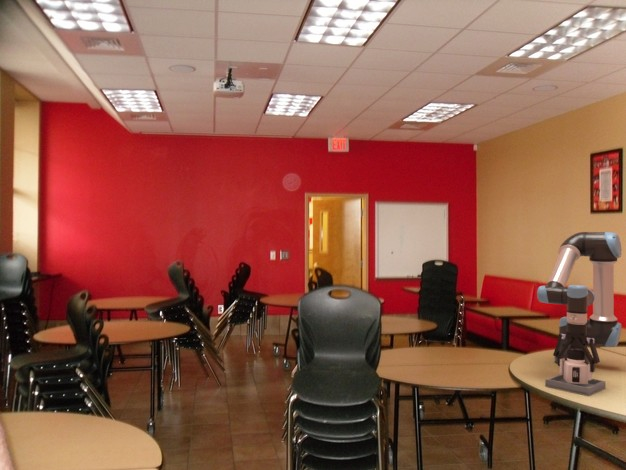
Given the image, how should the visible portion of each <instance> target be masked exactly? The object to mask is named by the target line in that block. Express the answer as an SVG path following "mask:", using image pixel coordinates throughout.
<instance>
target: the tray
mask: <svg viewBox="0 0 626 470" xmlns="http://www.w3.org/2000/svg"><path fill="white" fill-rule="evenodd" d="M544 385H545V387H547V388H549V389H550V388H551V389H553V390H554V389H555V390H559V391H563V390H564V391H565V392H569V393H573V394H577V395H583V396H587V397H590V396H591V395H595V394H596V393H598V392H602V391H603V390H605V389H606V381H605V380H600V379H596V378H592V380H590V381H589V380H588V385H586V384H572V383H567V382H566V381H565V380H564V379H563V375H560V373H559V374H557V375H554V376H552V377H548V378H545V384H544Z"/></svg>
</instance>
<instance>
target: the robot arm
mask: <svg viewBox="0 0 626 470" xmlns="http://www.w3.org/2000/svg"><path fill="white" fill-rule="evenodd" d="M580 257H588V258H589V259H588V260H589V263H591V264H592V290H591V289H590V288H588V287H587V286H586V285H582V284H581V285H580V284H569V285H567V284H568V282H569V278H570V276H571V274H572V272H573V269H574V266H575V263H576V261H578V260H579V259H580ZM621 257H622V243H621V240H620V237H619V235H618V234H617V233H615V232H609V231H581V232H577V233H574V234H573V235H570V236H568V237H567V238H566V239H565V240H564V241H563V242H562V243H561V244H560V246H559V248H558V257H557V259H556V262H555V265H554V266H553V269H552V272H551V273H550V275H549V279H548V281H547V283H546V285H540V286H539V287H538V288H537V291H536V297H537V300H538V301H539V302H540V303H544V304H550V305H551V304H552V305H561V306H566V316H563V317H561V318H560V319H559V325H558V336H557V337H558V340H557V343H556V345H555V348H554V350H553V351H554V352H553V354H552V356H553V357H554V363H556V364H557V366H558V367H559V374H560V375H563V368H564V360H567V351H568V350H570V349H578V350H582V351H583V352H584V354H585V362H584V363H585V364H587V365H588V374H587V380H589V381H590V380H592V379H593V373H594V372H595V370H596V368H595V367H596V365H597V364H599V363H600V362H601V360H600V357H599V353H598V350H597V347H596V346H598V347H599V346H600V347H605V348H607V347H608V348H615V347H617V346H618V344H619V342H620V338H621V334H622V323H620V322H618V317H616V316H615V315H614V314H615V313H614V309H615V308H614V305H615V304H614V303H615V302H614V297H615V296H614V292H615V291H614V287H615V286H614V284H615V282H614V281H615V280H614V279H615V278H614V277H615V276H614V275H615V274H614V267H615V266H614V265H615V264H616V263H617V262H618V259H619V258H621ZM566 286H567V287H566ZM591 305H592V314H591V315H590V316H589V319H588V307H589V306H591ZM588 346H589V348H590V350H589V348H588ZM567 361H568V360H567Z"/></svg>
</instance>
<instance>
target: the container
mask: <svg viewBox="0 0 626 470" xmlns="http://www.w3.org/2000/svg"><path fill="white" fill-rule="evenodd" d="M567 360H568V361H567ZM567 360H564V368H563V379H564V380H565V381H566V382H567V383H572V384H586V385H588V380H587V374H588V365H587V364H585V363H584V362H585V354H584V352H583V351H582V350H578V349H570V350H568V351H567Z"/></svg>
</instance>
